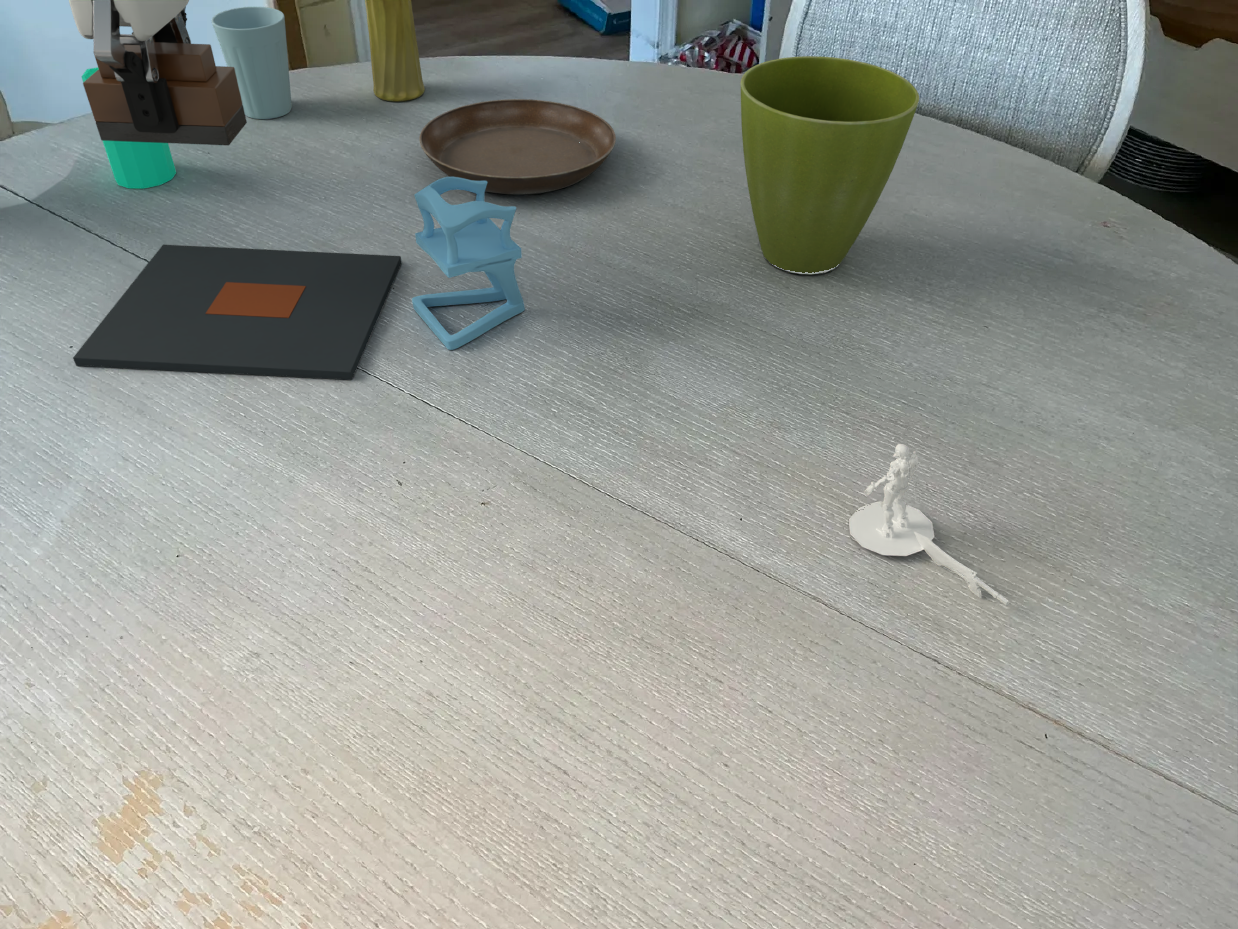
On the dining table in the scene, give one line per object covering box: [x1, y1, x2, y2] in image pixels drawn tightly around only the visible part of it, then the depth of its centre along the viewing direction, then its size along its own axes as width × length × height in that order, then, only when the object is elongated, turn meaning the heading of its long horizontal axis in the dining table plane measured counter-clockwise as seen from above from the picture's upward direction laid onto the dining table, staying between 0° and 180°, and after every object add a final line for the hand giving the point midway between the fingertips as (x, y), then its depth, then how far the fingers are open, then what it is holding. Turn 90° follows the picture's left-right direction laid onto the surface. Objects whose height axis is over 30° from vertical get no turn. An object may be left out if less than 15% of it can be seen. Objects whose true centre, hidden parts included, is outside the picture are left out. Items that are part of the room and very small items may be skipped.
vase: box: [364, 0, 426, 103], centre depth 118 cm, size 6×6×14 cm
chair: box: [411, 176, 526, 351], centre depth 82 cm, size 8×8×12 cm
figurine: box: [848, 443, 1010, 607], centre depth 64 cm, size 6×12×8 cm, turn 37°
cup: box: [211, 6, 293, 120], centre depth 115 cm, size 8×8×10 cm
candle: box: [81, 66, 177, 190], centre depth 101 cm, size 6×6×12 cm
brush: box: [82, 42, 248, 146], centre depth 78 cm, size 10×4×6 cm, turn 88°
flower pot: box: [740, 55, 920, 273], centre depth 90 cm, size 15×15×16 cm
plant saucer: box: [418, 98, 617, 195], centre depth 108 cm, size 21×21×3 cm
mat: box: [72, 244, 402, 381], centre depth 86 cm, size 22×18×1 cm
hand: (170, 114), depth 79 cm, fingers closed on brush, 4 cm apart
